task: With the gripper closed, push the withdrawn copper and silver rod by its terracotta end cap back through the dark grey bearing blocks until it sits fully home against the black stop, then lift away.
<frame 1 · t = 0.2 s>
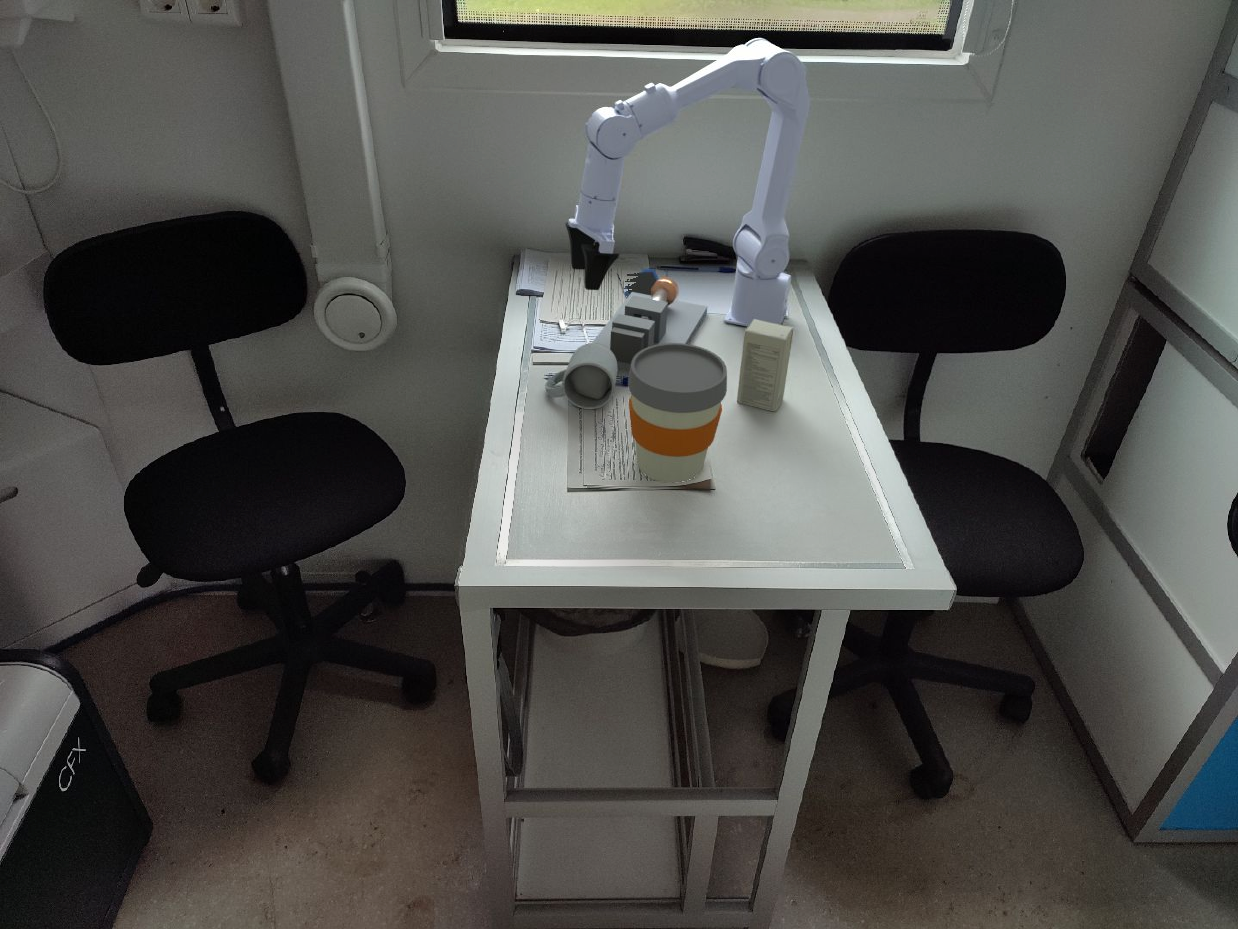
hand: (584, 278, 136), 11 cm above the table, tool pointing down, fingers open, 7 cm apart
picture light: (572, 330, 146), on the table
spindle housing: (647, 336, 144), on the table
copper and silver rod: (655, 304, 143), point 5 cm above the table, slide at 7.0 cm
cell phone: (641, 289, 159), on the table
ceramic mug: (581, 396, 129), on the table
skincare box: (758, 401, 129), on the table
reusable coffee cup: (669, 463, 116), on the table
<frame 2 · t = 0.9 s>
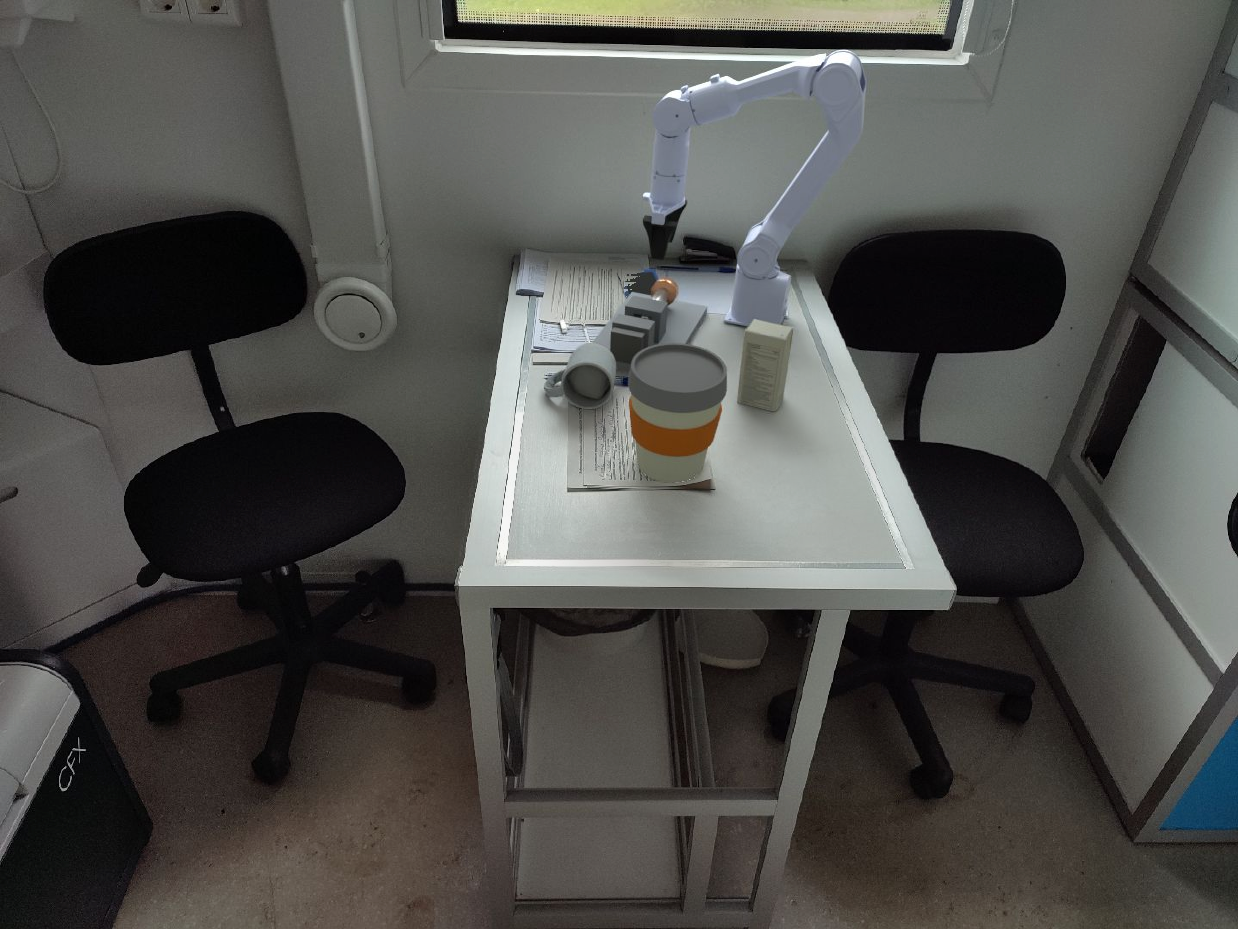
hand: (662, 249, 148), 10 cm above the table, tool pointing down, fingers open, 7 cm apart
nothing on the table moved.
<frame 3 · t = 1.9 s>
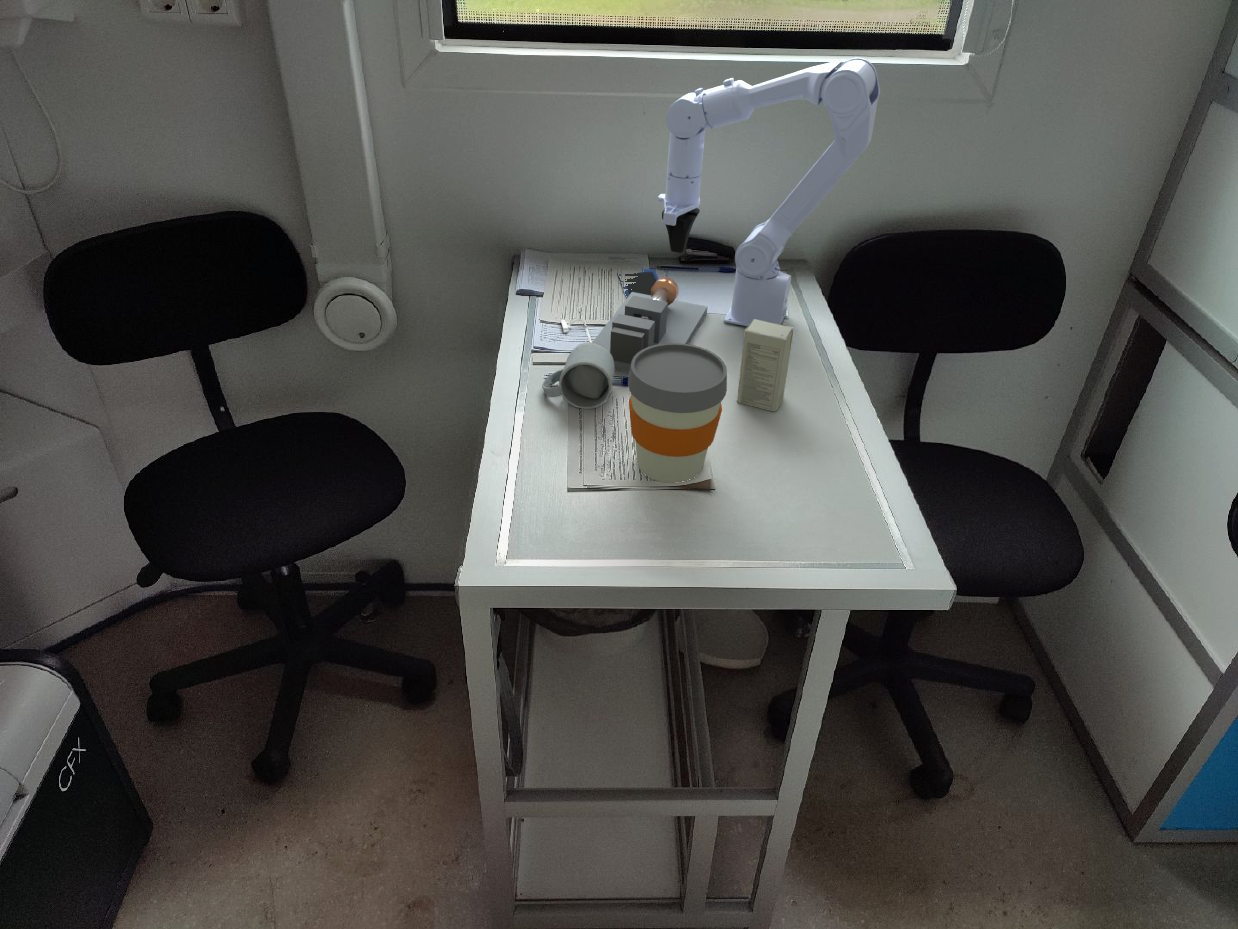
hand: (677, 250, 149), 9 cm above the table, tool pointing down, fingers closed
nothing on the table moved.
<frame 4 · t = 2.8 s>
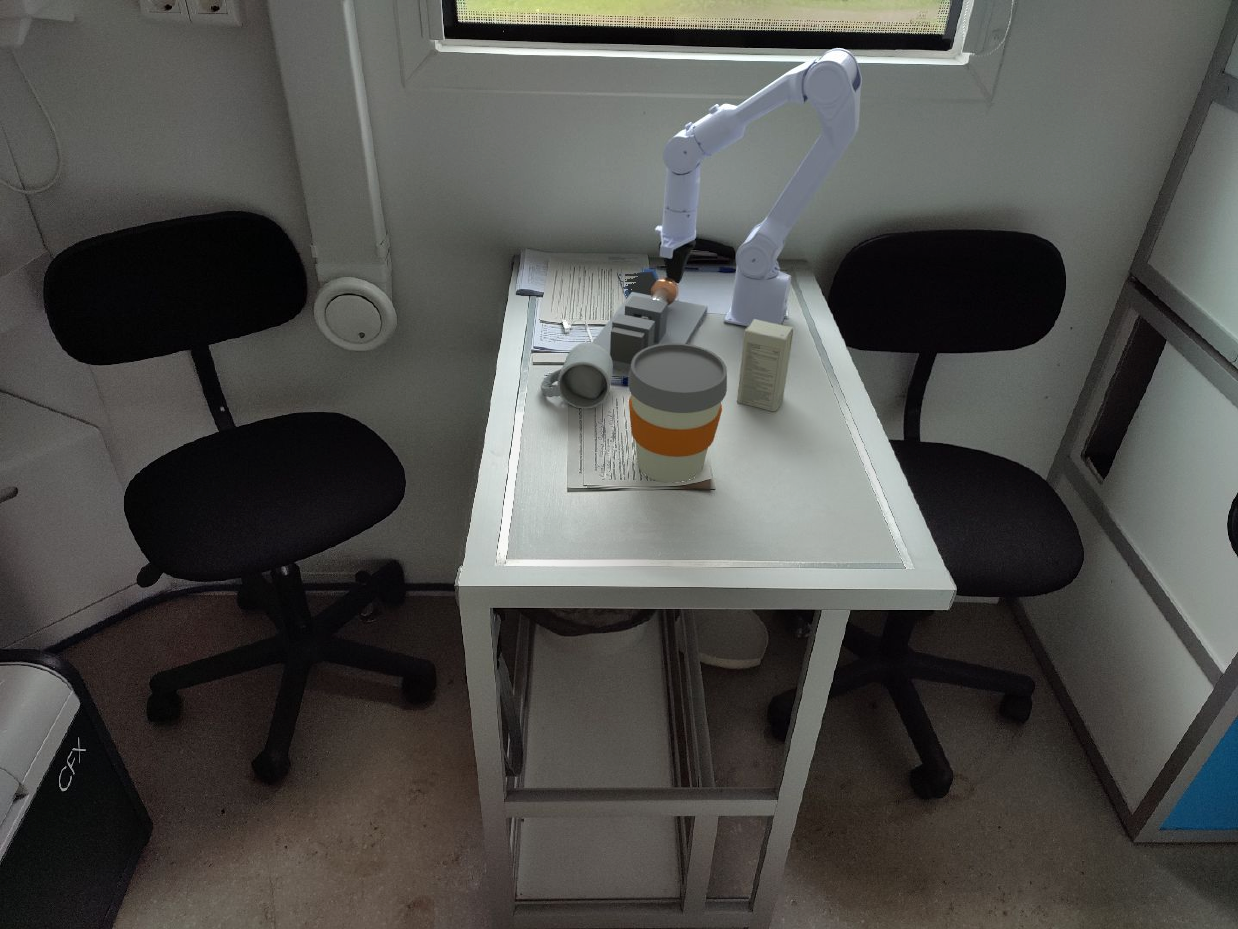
hand: (674, 280, 152), 4 cm above the table, tool pointing down, fingers closed
nothing on the table moved.
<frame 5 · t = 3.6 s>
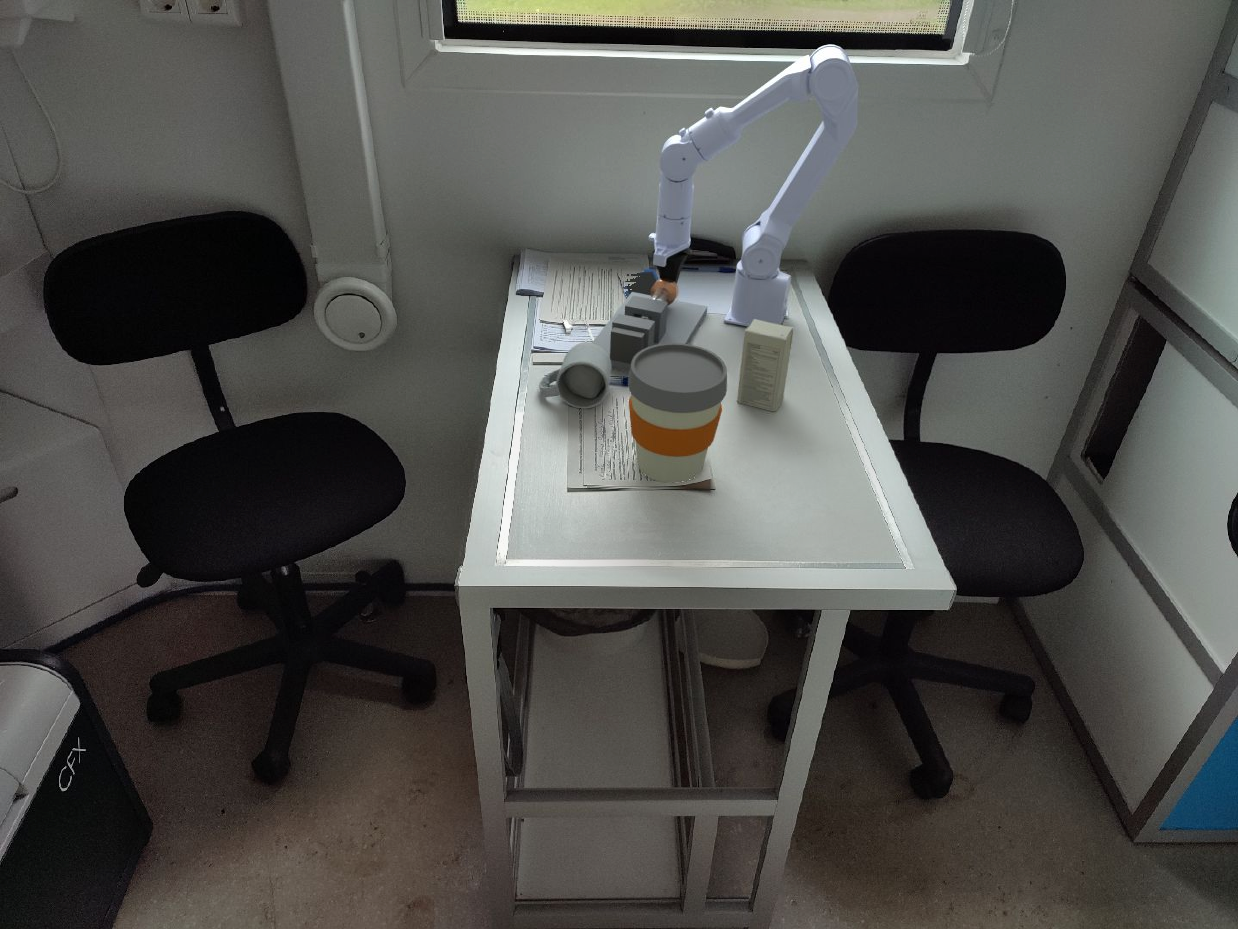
hand: (668, 289, 149), 4 cm above the table, tool pointing down, fingers closed
copper and silver rod: (655, 304, 143), point 4 cm above the table, slide at 7.0 cm, touching gripper
everything else where it was.
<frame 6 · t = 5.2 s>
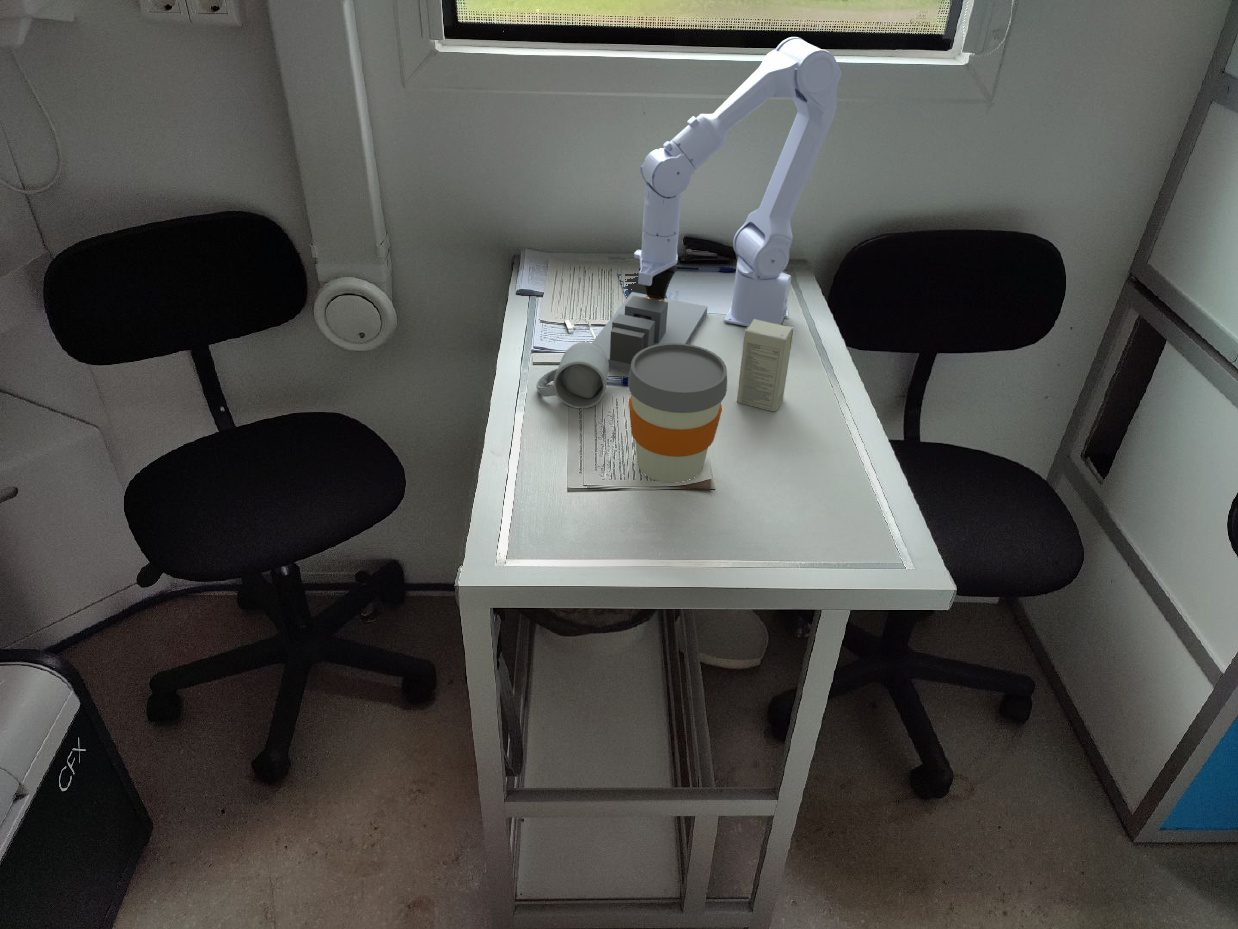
hand: (655, 307, 144), 4 cm above the table, tool pointing down, fingers closed
copper and silver rod: (642, 322, 138), point 4 cm above the table, slide at -0.1 cm, touching gripper
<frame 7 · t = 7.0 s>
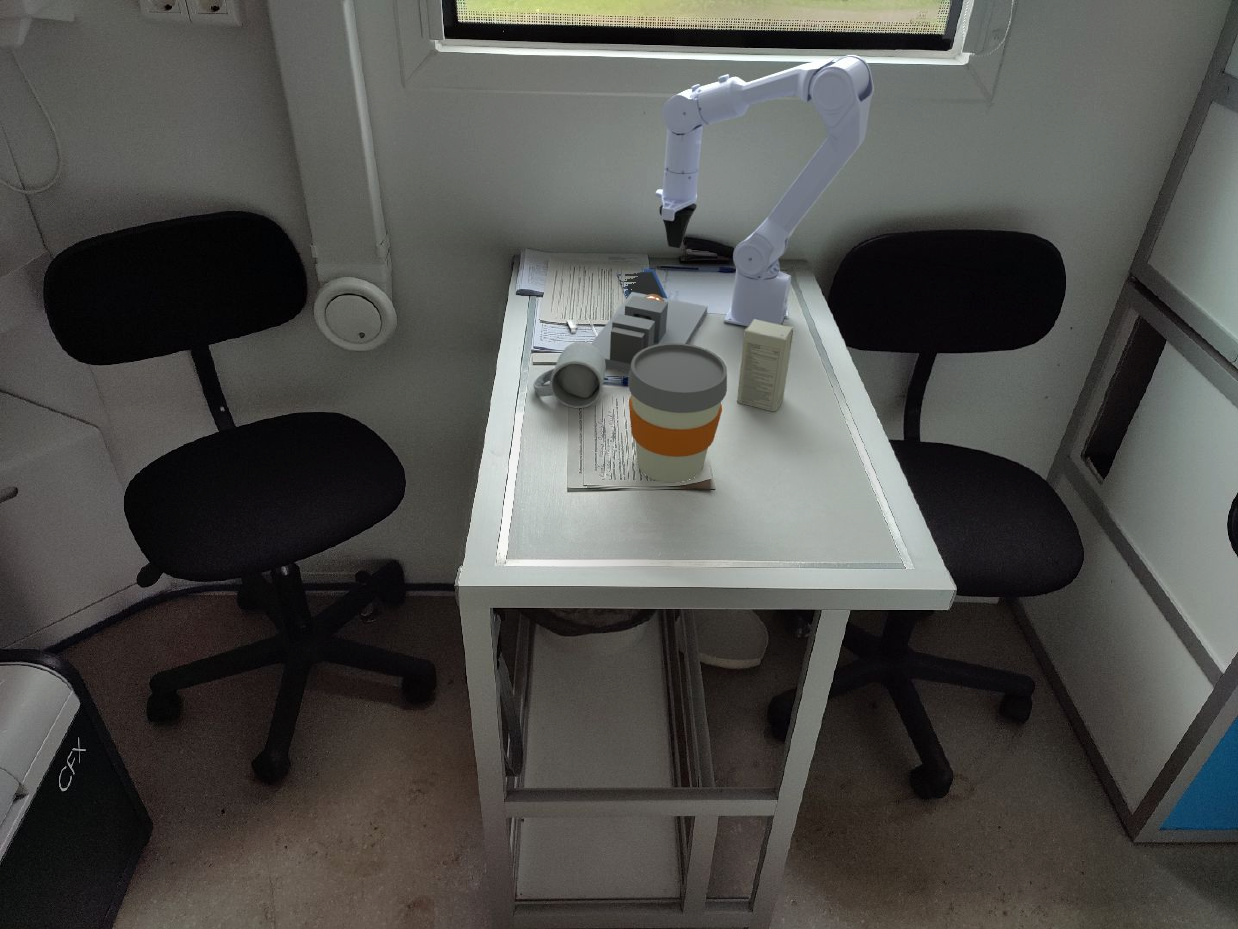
hand: (674, 245, 151), 9 cm above the table, tool pointing down, fingers closed
copper and silver rod: (642, 322, 138), point 5 cm above the table, slide at 0.0 cm
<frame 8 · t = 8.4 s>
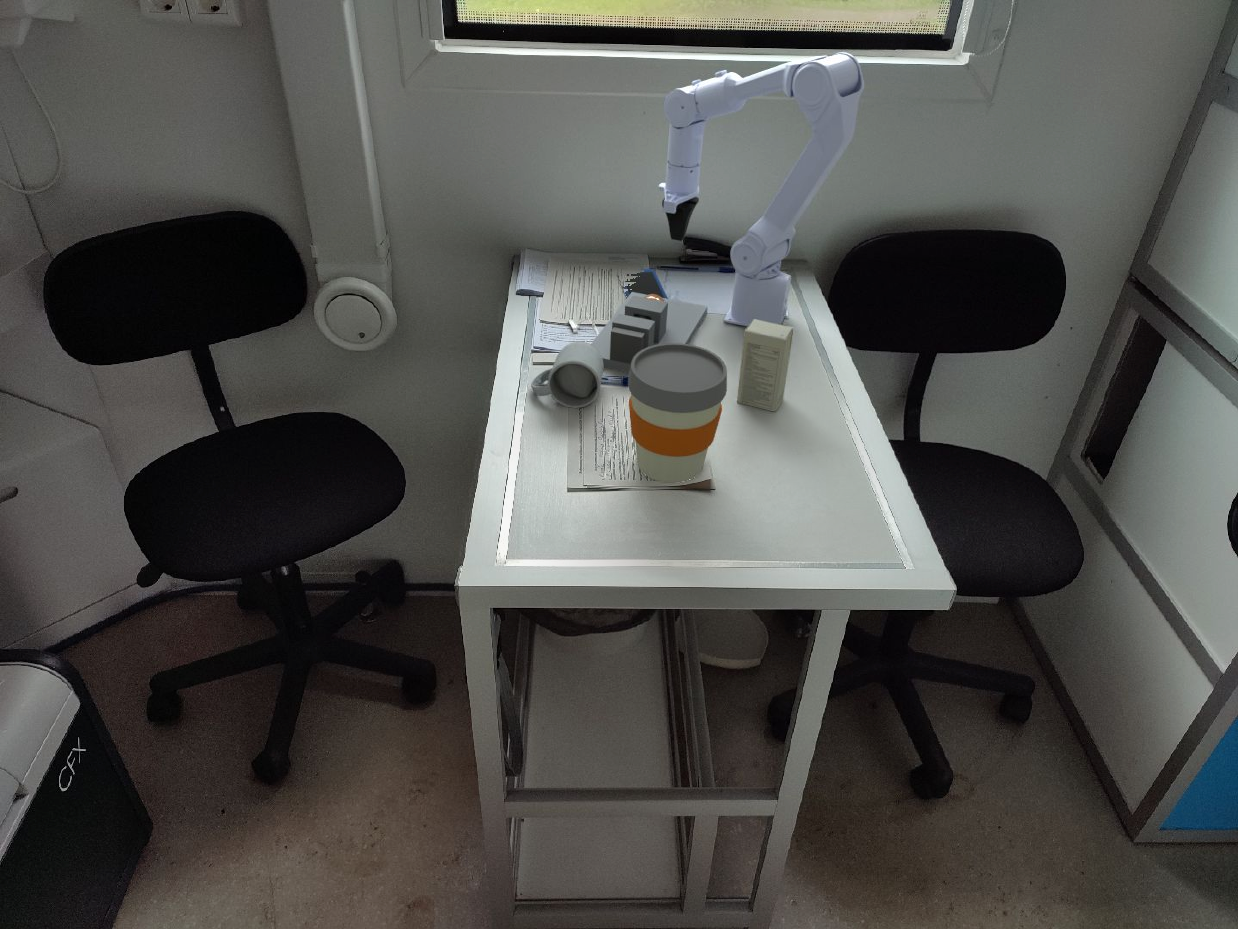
hand: (677, 238, 153), 9 cm above the table, tool pointing down, fingers closed
at the end: copper and silver rod slide at 0.0 cm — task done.
